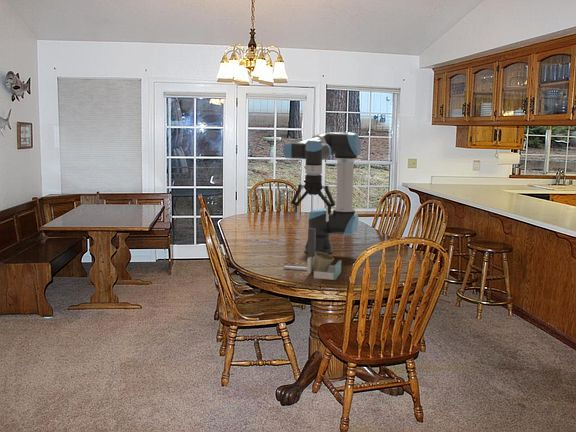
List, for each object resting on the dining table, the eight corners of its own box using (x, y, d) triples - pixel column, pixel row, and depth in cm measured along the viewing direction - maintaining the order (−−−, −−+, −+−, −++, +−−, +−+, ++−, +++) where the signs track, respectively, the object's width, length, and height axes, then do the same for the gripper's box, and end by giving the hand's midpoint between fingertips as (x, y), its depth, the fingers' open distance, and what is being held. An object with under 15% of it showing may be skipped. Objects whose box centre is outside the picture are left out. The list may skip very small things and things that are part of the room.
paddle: (310, 266, 293) (311, 225, 290) (318, 267, 292) (319, 226, 289) (304, 273, 280) (305, 230, 277) (312, 273, 279) (314, 230, 276)
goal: (320, 271, 291) (320, 258, 290) (340, 272, 288) (341, 260, 287) (313, 278, 277) (314, 265, 277) (335, 279, 275) (335, 266, 274)
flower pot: (324, 278, 278) (330, 261, 276) (306, 270, 281) (311, 253, 279) (331, 274, 287) (336, 257, 285) (313, 267, 290) (318, 250, 288)
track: (284, 267, 296) (284, 265, 296) (319, 270, 291) (319, 268, 291) (283, 268, 294) (283, 266, 294) (318, 271, 290) (318, 269, 289)
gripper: (284, 174, 277) (284, 220, 281) (339, 176, 271) (338, 223, 275) (289, 172, 284) (288, 217, 288) (342, 174, 278) (340, 220, 282)
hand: (312, 220), depth 281 cm, fingers open, 13 cm apart
